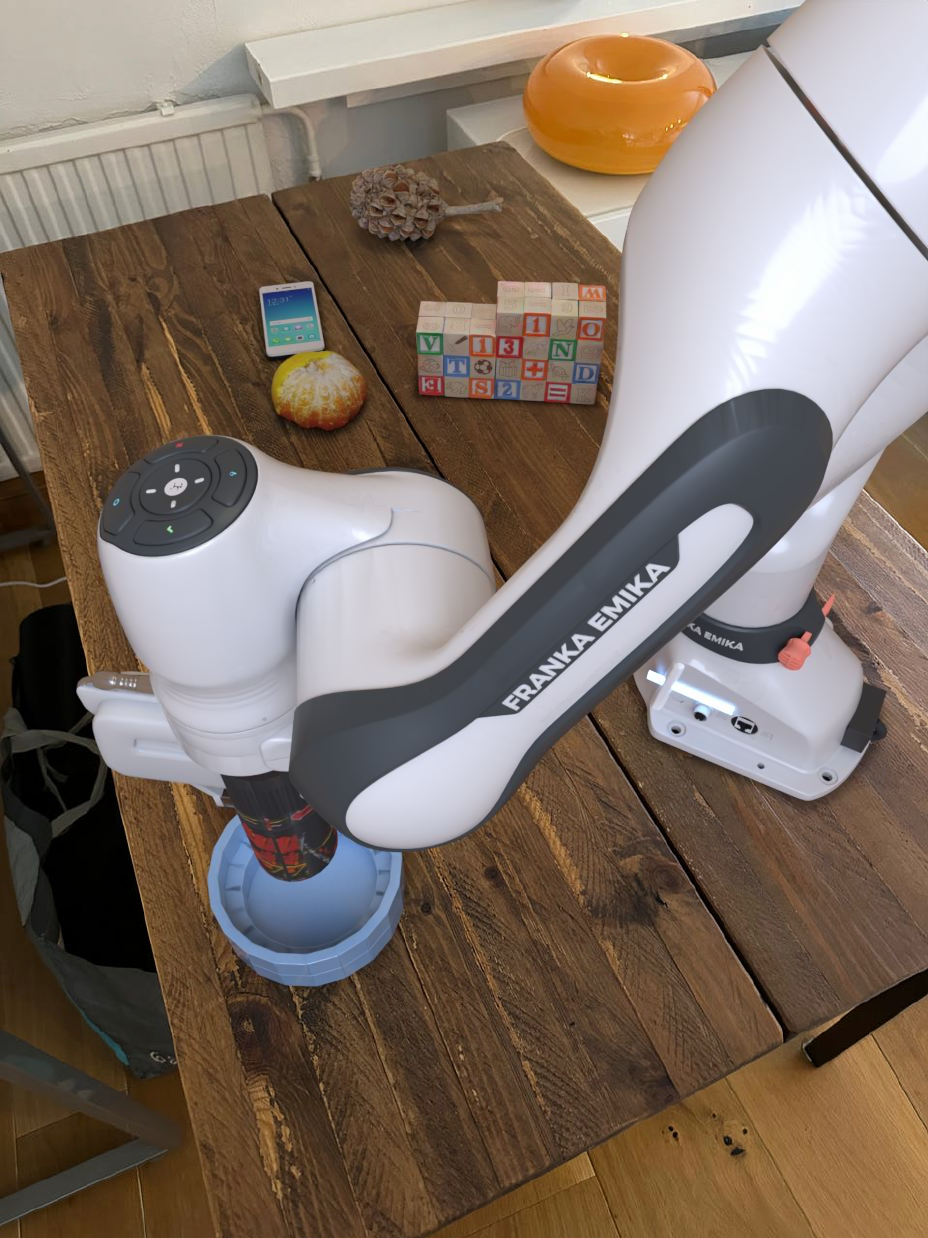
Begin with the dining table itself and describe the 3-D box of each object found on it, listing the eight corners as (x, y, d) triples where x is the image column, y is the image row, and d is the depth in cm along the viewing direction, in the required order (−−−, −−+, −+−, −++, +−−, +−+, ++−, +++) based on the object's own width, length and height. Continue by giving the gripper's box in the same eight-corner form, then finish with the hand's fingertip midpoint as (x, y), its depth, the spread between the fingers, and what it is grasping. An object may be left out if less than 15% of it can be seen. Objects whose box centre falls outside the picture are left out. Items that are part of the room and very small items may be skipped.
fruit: (283, 447, 108) (267, 381, 104) (275, 412, 117) (259, 350, 112) (378, 427, 110) (367, 361, 105) (363, 394, 118) (352, 331, 114)
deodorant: (244, 824, 69) (197, 716, 57) (321, 792, 70) (291, 680, 58) (270, 895, 66) (226, 797, 54) (350, 860, 67) (325, 757, 55)
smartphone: (266, 355, 118) (257, 286, 127) (267, 361, 119) (259, 292, 128) (325, 348, 119) (313, 280, 128) (326, 353, 120) (314, 285, 128)
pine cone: (352, 258, 133) (345, 189, 125) (352, 221, 139) (345, 153, 131) (509, 250, 134) (511, 182, 126) (502, 214, 139) (504, 146, 132)
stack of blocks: (418, 397, 114) (413, 308, 105) (423, 364, 118) (419, 276, 108) (595, 404, 113) (607, 316, 104) (595, 371, 117) (606, 283, 107)
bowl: (442, 882, 77) (440, 851, 73) (318, 1030, 70) (307, 1007, 66) (312, 782, 83) (303, 748, 78) (186, 911, 76) (167, 882, 71)
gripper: (43, 718, 51) (118, 828, 62) (416, 764, 50) (425, 868, 61) (87, 625, 55) (150, 744, 66) (435, 665, 53) (440, 780, 64)
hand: (284, 804), depth 63 cm, fingers closed on deodorant, 6 cm apart
